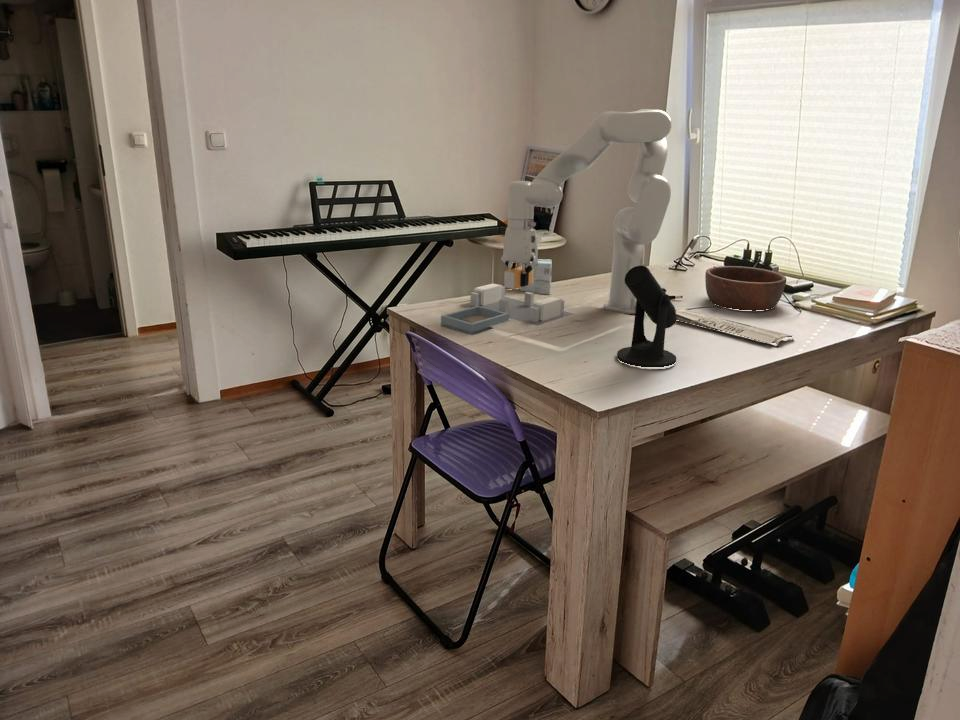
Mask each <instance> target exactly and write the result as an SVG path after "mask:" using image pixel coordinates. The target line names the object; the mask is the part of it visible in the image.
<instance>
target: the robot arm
mask: <svg viewBox="0 0 960 720" xmlns="http://www.w3.org/2000/svg"><path fill="white" fill-rule="evenodd" d="M671 128H672V119H671V117H670V115H669V114H668V113H666V112H665V111H663V110H661V109H653V108H652V109H651V108H640V109H638V110H635V111H615V110H614V111H612V110H609V111H603V112H602V113H600V114H599V115H598V116H597V117H596V118H595V119H594V120H593V121H592V122H591V123H590V124H589V125H588V126H587V128H585V130H584V131H583V132H582V133H581V134H580V135H579V136H578V137H577V139H575V141H573V142H572V144H571V145H569V147H568V148H566V149H565V150H564V151H562V152H561V153H560V154H559V155H557V156H556V157H554V159H552V160H551V161H550V162H548V164H547V165H546V166H544V168H542V170H541V171H540V172H539V173H538V174H537V175H536V176H535V177H534V179H532V181H529V180H513V181H510V182H509V185H508V197H507V199H508V200H507V201H508V207H507V227H506V229H505V233H504V239H503V247H502V249H503V250H502V251H503V253H502V255H501V258H500V260H501V261H502V262H503V263H504V265H505V266H506V267H507V270H510V269H514V268H518V267H517V266H518V264H520V263H521V264H522V274H521V282H520V286H521V287H524V286H527V285H528V282H529V273H530V272H531V270H532V269H533V268H535V267H537V266H538V265H539V264H538V261H537V259H538V256H539V255H538V254H539V253H538V252H539V251H538V250H539V249H538V236H537V231H536V229H535V228H534V227H536V225H537V222H535V221H534V218H535V217H534V216H535V211H534V210H535V209H534V208H535V207H541V208H554V207H556V206H558V205H559V204H560V203H561V202H562V200H563V197H564V193H563V189H562V187H561V186H562V185H563V183H565V181H567V180H568V179H570V178H571V177H573V176H575V175H577V174H579V173H582V172H585V171H586V170H588V169H590V168H591V167H593V165H595V163H596V162H597V161H598V160H599V158H601V157H602V156H603V154H604V153H605V152H606V151H607V150H608V149H609V148H610V147H611V146H612V145H613V144H637V147H638V148H637V149H638V151H637V156H636V161H635V164H634V168H633V170H632V173H631V176H630V179H629V180H630V181H629V183H628V185H627V186H628V187H627V196H628V198H629V199H630V200H631V201H632V202H634V203H636V204H635V207H633V206H627V207H624V208H622V209H620V210H619V211H617V213H616V214H615V216H614V218H613V223H612V235H613V251H612V261H611V262H612V263H611V264H612V265H611V272H610V273H611V275H610V287H609V298H608V301H606V302H604V303H603V309H605V310H606V311H610V312H614V313H618V314H625V315H632V314H634V315H635V311H636V302H637V299H636V298H635V297H634V295H633V294H632V292H631V291H630V290H629V288H628V287H627V285H626V284H625V276H626V274H627V272H628V271H629V270H630V269H632V268H633V267H636V266H640V265H641V266H644V262H645V249H646V248H645V245H648V244H650V243H652V242H653V241H654V240H655V239H656V238H657V236H658V235H659V233H660V230H661V228H662V225H663V222H664V219H665V216H666V213H667V210H668V207H669V204H670V201H671V196H672V195H671V193H672V190H671V185H670V182H669V181H668V180H667V179H666V178H665V177H664V176H663V175H664V174H663V173H664V171H665V167H666V166H665V165H666V162H667V159H668V142H667V138H666V137H667V136H668V135H669V133H670V132H671V131H672V130H671ZM530 262H532V264H531V265H530Z"/></svg>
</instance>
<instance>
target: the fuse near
mask: <svg viewBox="0 0 960 720" xmlns="http://www.w3.org/2000/svg"><path fill="white" fill-rule="evenodd" d="M562 300H563V299H562V298H558V297H554V296H550V297H547V298H543V299H539V300H536V301H533V306H534V307H538V308H540V312H539V320H542V321H544V320H547V319H550V318H553V317H556V316H559V315H560V314H561V306H562Z"/></svg>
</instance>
